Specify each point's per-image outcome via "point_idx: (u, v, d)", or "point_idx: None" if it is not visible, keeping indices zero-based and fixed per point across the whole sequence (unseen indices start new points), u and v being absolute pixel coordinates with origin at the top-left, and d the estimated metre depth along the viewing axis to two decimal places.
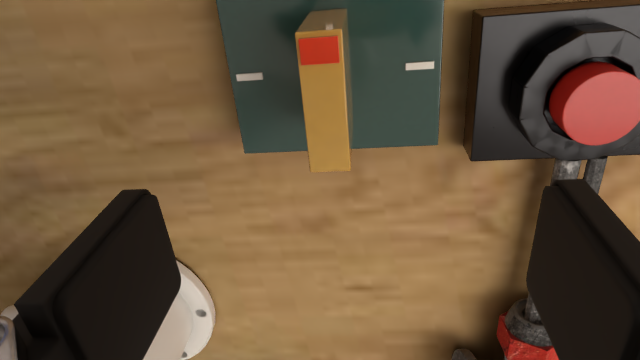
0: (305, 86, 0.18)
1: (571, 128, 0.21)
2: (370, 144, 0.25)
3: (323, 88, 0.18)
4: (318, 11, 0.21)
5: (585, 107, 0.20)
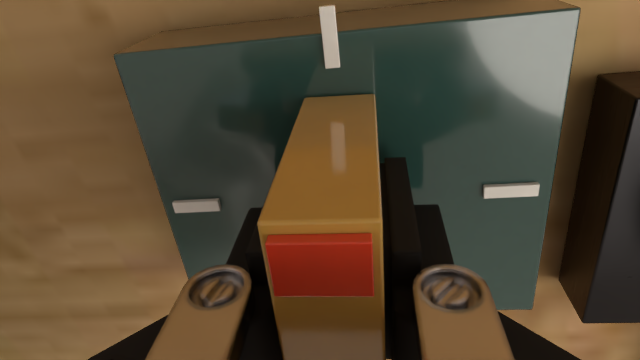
0: (287, 327, 0.07)
1: None
2: None
3: (330, 333, 0.07)
4: (320, 100, 0.11)
5: None
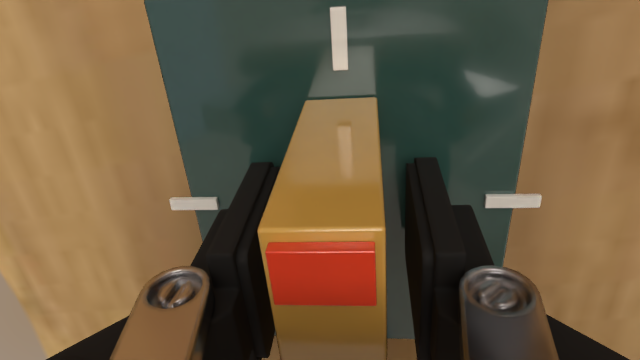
0: (287, 335, 0.07)
1: None
2: (516, 137, 0.11)
3: (331, 343, 0.07)
4: (321, 103, 0.10)
5: None
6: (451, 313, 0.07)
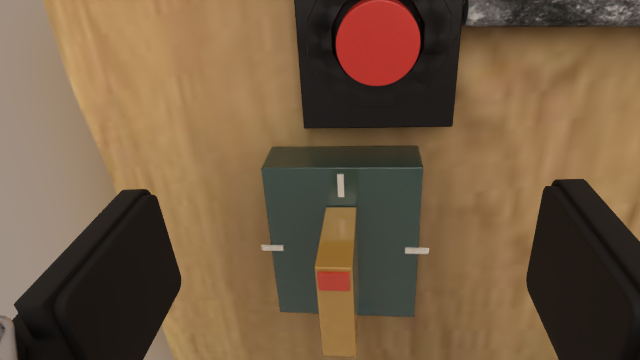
0: (321, 301, 0.22)
1: (396, 74, 0.19)
2: (415, 224, 0.26)
3: (336, 303, 0.22)
4: (332, 210, 0.25)
5: (373, 64, 0.19)
6: None
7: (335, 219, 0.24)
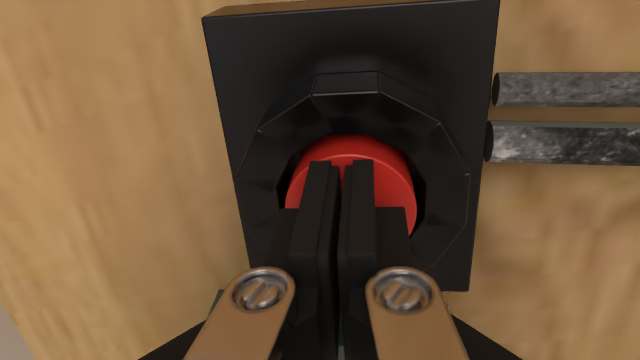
0: None
1: None
2: None
3: None
4: None
5: None
6: (360, 313, 0.07)
7: None
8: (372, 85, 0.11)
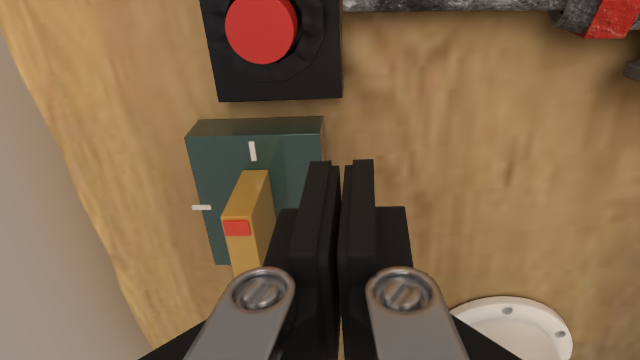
0: (230, 245, 0.26)
1: (277, 54, 0.23)
2: None
3: (242, 247, 0.26)
4: (247, 172, 0.29)
5: (258, 46, 0.23)
6: (360, 313, 0.07)
7: (247, 179, 0.29)
8: None
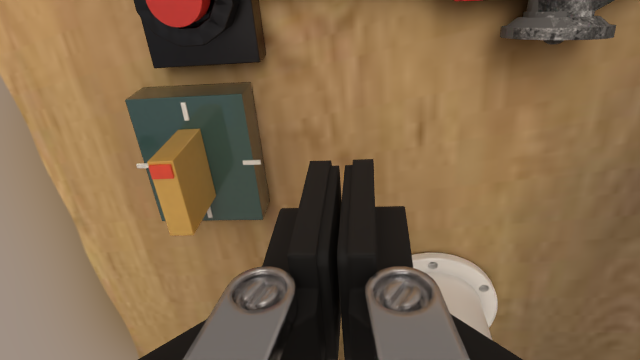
0: (158, 189, 0.30)
1: (190, 17, 0.27)
2: (246, 140, 0.34)
3: (168, 190, 0.30)
4: (181, 130, 0.33)
5: (173, 11, 0.27)
6: (360, 313, 0.07)
7: (179, 135, 0.32)
8: None
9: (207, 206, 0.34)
